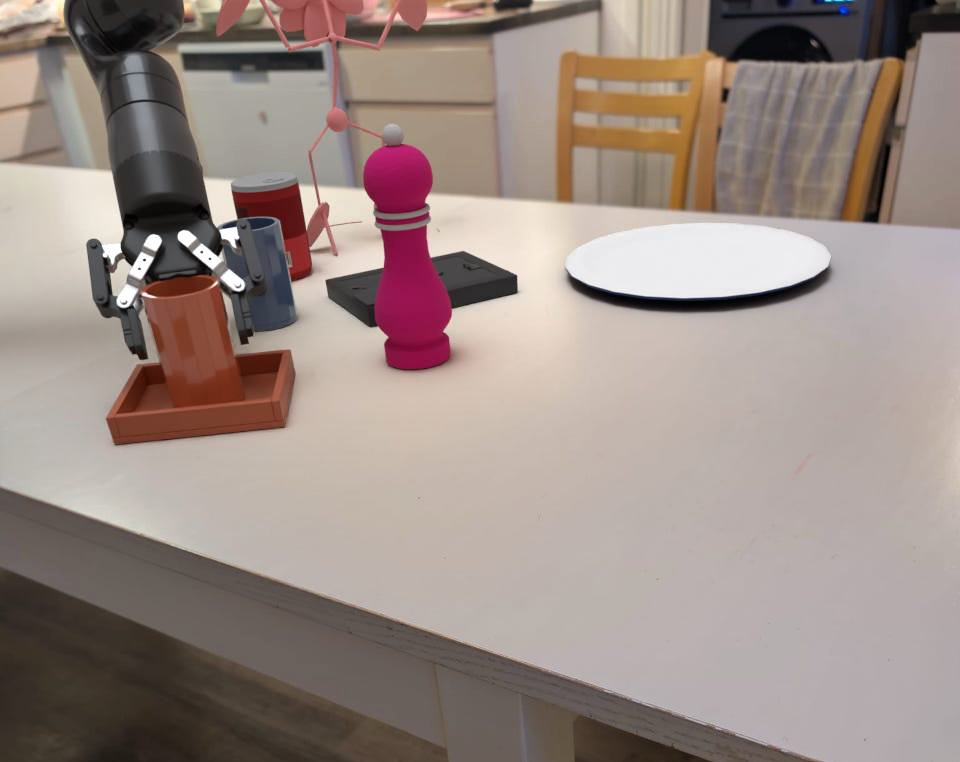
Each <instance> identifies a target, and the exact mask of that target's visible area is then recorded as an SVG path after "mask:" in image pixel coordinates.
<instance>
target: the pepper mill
mask: <svg viewBox="0 0 960 762" xmlns="http://www.w3.org/2000/svg"><path fill="white" fill-rule="evenodd" d="M382 136H383V140H384V142H385V146H383V147H382V146H381V147H379V148H377V149H376V150H374V151H373V152H372V153H371V154H370V155H369V156H368V157H367V160H366V161H365V163H364V166H363V173H362V180H363V182H362V183H363V188H364V191H365V193H366V195H367V196H368V198H369V199H370V200H371V201H372V202H373V203H375V204H376V206H377V208H376V209H374V208H373V211H372V214H373V217H374V219H375V221H374V226H375V227H376V228H377V229H379V231H380V234H381V238H382V243H383V255H384V257H383V258H384V259H383V267H382V268H383V272H382V277H381V280H380V283H379V286H378V290H377V294H376V300H375V320H376V323H377V325H376V326H377V327H378V328H379V329H380V331H381V332H382V333H383V334H384V335H386V336H387V337H388V338H386V339H385V341H384V342H383V347H384V355H385V361H386V363H387V364H388V365H389V366H390V367H393V368H396V369H399V370H422V369H423V370H424V369H429V368H432V367H436V366H439V365H441V364H443V363H445V362H447V361H448V360H449V359H450V357H451V341H450V336H449V335H448V334H447V333H446V332H444V331H445V330H446V329H447V327H448V325H449V323H450V322H451V320H452V317H453V308H451V302H450V298H449V295H448V293H447V290H446V288H445V286H444V284H443V282H442V280H441V278H440V277H439V275H438V273H437V271H436V269H435V267H434V265H433V263H432V260H431V255H430V250H429V243H428V224H430V223H431V221H432V216H431V215H430V210H431V205H429V203H426V201H427V198H428V196H429V194H430V193H431V190H432V188H433V184H434V175H433V169H432V165H431V164H430V161H429V159H428V157H427V156H426V154H424V152H422V151H421V150H420V149H419V148H417V147H415V146H413V145H410V144H407V143H403V141H404V137H405V135H404V131H403V129H402V128H401V126H400V125H398V124H396V123H389V124H387V125H385V127H384V129H383V130H382Z"/></svg>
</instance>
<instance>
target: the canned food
mask: <svg viewBox="0 0 960 762" xmlns="http://www.w3.org/2000/svg"><path fill="white" fill-rule="evenodd" d="M230 191H231V195H232V201H233V205H234V210H235V214H236V215H235V216H236V220H237V219H242V218H250V217H273V218H277V219H279V220H280V224H281V229H282V235H283V240H284V245H285V251H286V256H287V261H288V267H289V272H290V277H291V282H294V281H297V280H300V279H303V278H305V277H307V276H308V275H310V274H311V273H312V271H313V270H312V269H313V260H312V254H311V249H310V247H309V242H308V236H307V225H306V218H305V213H304V207H303V201H302V200H303V199H302V195H301V189H300V184H299V179H298V175H297V174H296V173H294V172H289V171H288V172H287V171H273V172H272V171H271V172H262V173H255V174H250V175H246V176H242V177H239V178H236V179H234V180H233V181H231V182H230Z"/></svg>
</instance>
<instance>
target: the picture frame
mask: <svg viewBox="0 0 960 762" xmlns="http://www.w3.org/2000/svg"><path fill="white" fill-rule="evenodd" d="M430 257H431V256H430ZM431 260H432V263H433V265H434V267H435V269H436V271H437V273H438V275H439V277H440V278H441V280H442V282H443V284H444V286H445V288H446V290H447V293H448V295H449V298H450V302H451V308H452V309H453V308H457V307H462V306H466V305H470V304H475V303H478V302H482V301H487V300H491V299H495V298H500V297H504V296H509V295H512V294H516V293H518V292H519V288H518V287H519V286H518V275H517V274H516V273H514V272H511V271H509V270H507V269H505V268H502V267H500V266H498V265H496V264H494V263H491V262H489V261H487V260H485V259H483V258H480V257H478V256H476V255H475V254H471V253H470V252H467V251H465V250H461V251H455V252H450V253H446V254H442V255H436V256H433V257H431ZM383 268H384V267H379V268H375V269H370V270H366V271H361V272H355V273H351V274H346V275H341V276H337V277H336V276H335V277H332V278H327V279H325V286H326V293H327V297H328V298H329V299H331V300H332V301H333V302H335V303H336V304H338V305H339V306H341V307H342V308H343V309H344V310H346V311H347V312H349V313H350V314H352V315H353V316H354V317H356V318H358V319H359V320H360V321H362V323H365V325H367V326H368V327H371V328H372V327H375V326H376V327H377V326H378V325H377V323H376V320H375V300H376V294H377V290H378V286H379V283H380V280H381V277H382V272H383Z"/></svg>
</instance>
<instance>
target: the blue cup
mask: <svg viewBox="0 0 960 762" xmlns="http://www.w3.org/2000/svg"><path fill="white" fill-rule="evenodd" d="M242 219H246V220H247V221H249V223H250V226H251V229H252V232H253V236H254V239H255V243H256V246H257V250H258V253H259V257H260V260H261V263H262V267H263V270H264V274H265V282H266V286H267V293H266V294H265V295H264V296H255V297H253V298H252V299H251V300H250V302H249V307H250V312H251V317H252V321H253V326H254V332H266V331H273V330H278V329H281V328H282V329H283V328H286V327H287V326H290V325H292V324H294V323H295V322H297V320H298V312H297V311H298V310H297V309H298V308H297V305H296V300H295V294H294V289H293V284H292V283H293V282H292V281H291V277H290V272H289V267H288V261H287V256H286V251H285V245H284V240H283V235H282V229H281V224H280V220H279V219H277V218H273V217H250V218H242ZM238 220H240V219H237V218H236V219H233V220H229V221H226V222H224V223H222V224H219V225H217V226H216V227H217V228H218V229H219V230H222V229H227V228H233V227H236V223H237V221H238ZM221 255H222V261H223V262H224V263H225V264H226V266H227V267H228V268H229V269H230V270H231V271H232V272H234V273H235V274H236V275H237V276H238V277H240V278H241V279H243V278H245V277H247V276H249V274H248V270H247V267H246V263H245V260H244V257H243V254H242V255H238V254H236V253H234V252H233V250H232V248H231V247H230V246H227V245H223V249H222V251H221Z"/></svg>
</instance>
